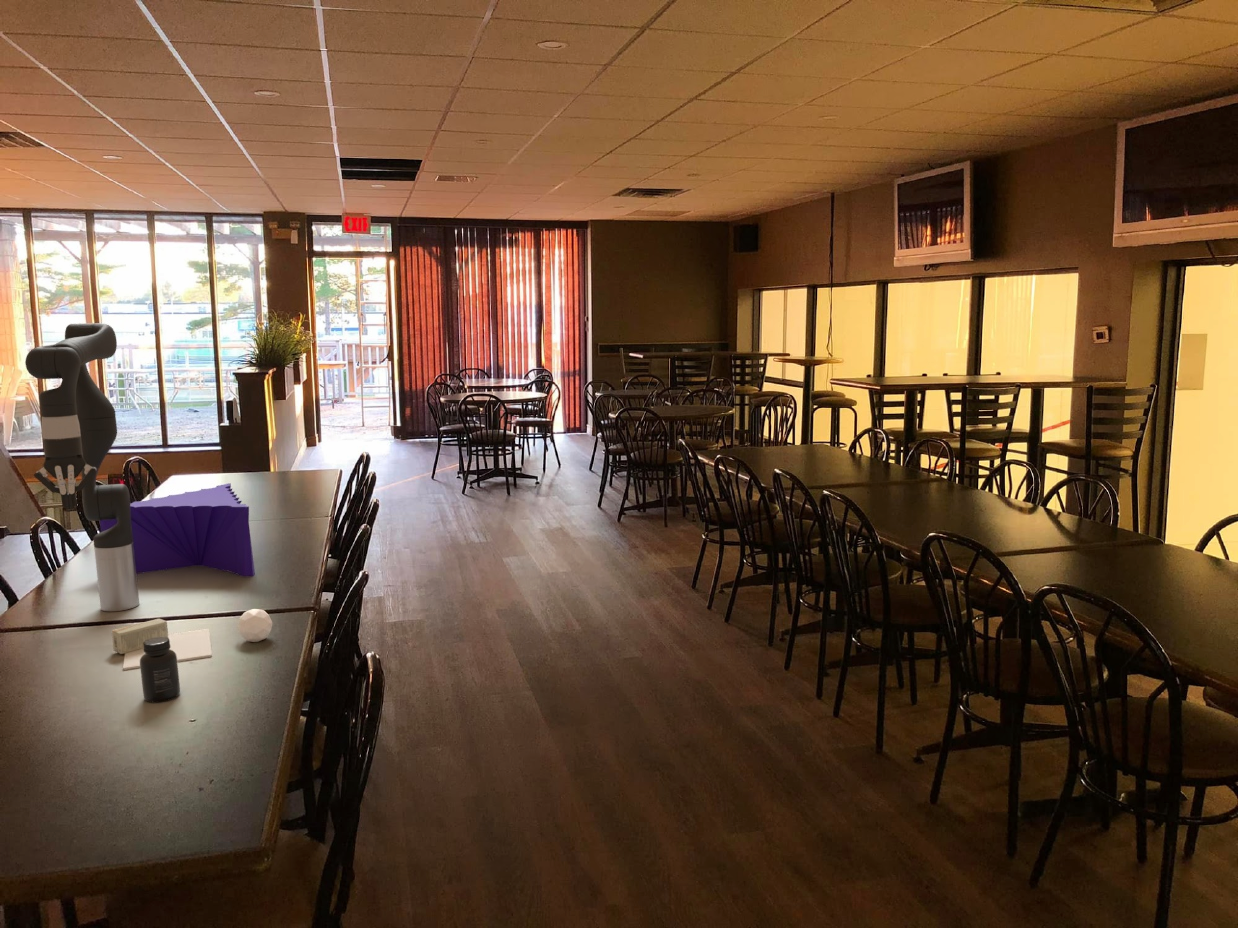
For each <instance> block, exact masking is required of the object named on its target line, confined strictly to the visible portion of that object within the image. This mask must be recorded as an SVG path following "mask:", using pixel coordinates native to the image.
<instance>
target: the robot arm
mask: <svg viewBox="0 0 1238 928" xmlns="http://www.w3.org/2000/svg"><path fill="white" fill-rule="evenodd" d="M64 331H65V332H64V339H63V340H61V341H59V342H56V343H54V344H49V345H41V346H37V347H34V348H32V349H31V350H29V352H28V353H27V355H26V356H25V362H24V365H25V369H26V370H27V372H28V373H29V374H30V375H31V376H32V377H33V378H36V379H37V380H38V379H39V380H57V379H58V380H60V379H61V383H60V385H59V386H58V387H55V388H51V389H46V390H42V391H41V393H40V394H39V405H40V413H41V436H42V443H43V444H42V445H43V451H44V462H43V465H42V466H43V467H41V468H40V469H39V470H37V471H36V472H35V473H34V474H33V476H34V477H35V479H36V480H37V481H38V482H40V483H41V484H42V485H43V486H44V487H46V488H47V489H48V490H49V491H50V492H51V493H53V494H59V495H60V498H61V504H62V505H61V507H62V508H63V509H65V511H74V509H75V508H76V507H77V503H78V501H77V492H79V491H81V495H82V496H81V497H82V508H83V509H82V510H83V513H84V516H85V518H86V520H88V521H90V522H93V521H94V522H95V521H96V522H98V521H99V522H100V520H111V519H117V521H118V522H117V524H116V525H114V526H113V527H112V528H110V529H108V530H105V531H103V532H101V531H100V532H99V533H97V534H94V536H93V548H94V549H93V550H94V559H95V565H96V567H95V569H96V577H97V585H98V586H97V587H98V594H99V595H98V597H99V604H100V605H99V606H100V610H101V611H102V612H120V611H125V610H130V609H133V608H136V607H138V606H140V597H139V586H138V576H137V574H138V573H136V565H135V555H134V545H133V536H132V526H131V509H130V503H131V494H130V491H129V488H128V486H127V485H126V484H123V483H115V484H114V483H113V484H99V485H98V484H97V476H98V473H99V470H100V468H101V465H102V463H103V461H104V460H105V457H106V456H107V454H108V453H109V452H110V450H111V448H112V446H113V445H114V443H115V441H116V439H117V435H118V427H117V426H118V425H117V416H116V410H115V408H114V407H115V406H113V403H111V401H110V400H109V399H108V397H107V396H106V395H105V394H104V392H102V390H101V389H100V388H99V387H98V385H97V384H96V383H95V381H94V379H93V378H92V377H91V375H90V372H89V370H88V366H87V364H88V363H90V362H93V361H96V360H105V359H109V358H112V357H114V355H115V354H116V351H117V346H118V345H117V344H118V343H117V334H116V333H115V330H114V328H113V327H112V326H111V325H109V324H107V323H100V322H96V323H95V322H94V323H93V322H92V323H91V322H89V323H88V322H86V323H80V322H79V323H70V324H68V325H67V326H66V327H65V330H64ZM48 473H49V475H50V476H51V477H53V478H54V479H56V481H57V485H58V486H57V485H56V484H55V483H54V482H53V481H52V480H51V479H50V478H49V477H48V476H49V475H48ZM80 474H81V481H80V482H79V484H77V485H76V478H78V476H79V475H80ZM67 482H68V483H67ZM67 485H68V487H67Z"/></svg>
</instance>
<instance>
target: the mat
mask: <svg viewBox="0 0 1238 928" xmlns="http://www.w3.org/2000/svg"><path fill="white" fill-rule="evenodd" d="M168 638H169V641H170V650H172V651H174V652H175V653H176V656H177V663H180V662H185V661H191V660H199V659H205V658H211V657H212V656H213V655H212V647H211V646H212V645H211V635H210V628H203V629H195V630H194V629H193V630H189V631H183V632H175V633H174V632H173V633H168ZM143 649H144V648H142V649H139V650H135V651H131V652H128V653H124V659H123V666H122V670H123V671H126V670H133V669H134V670H135V669H140V659H141V657H142V656H143V655H144V654H145V652H144V650H143Z"/></svg>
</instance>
